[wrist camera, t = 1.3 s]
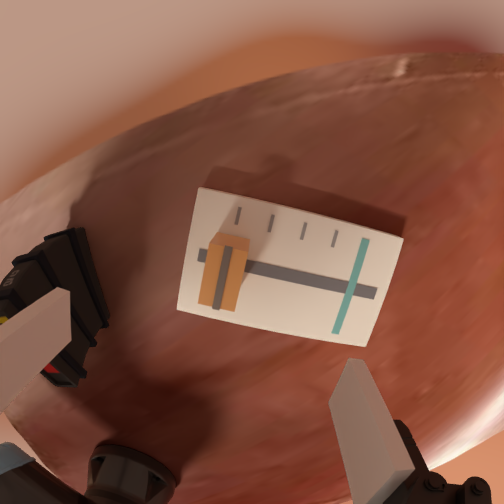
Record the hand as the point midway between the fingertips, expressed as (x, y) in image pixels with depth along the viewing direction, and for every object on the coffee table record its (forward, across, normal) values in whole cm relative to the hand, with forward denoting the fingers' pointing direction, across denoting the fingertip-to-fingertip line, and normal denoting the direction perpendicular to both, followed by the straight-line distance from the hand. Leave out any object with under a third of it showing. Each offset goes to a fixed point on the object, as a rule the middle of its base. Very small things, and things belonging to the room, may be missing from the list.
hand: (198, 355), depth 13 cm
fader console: (+18, -6, 0) cm, 19 cm away
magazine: (+18, +15, +7) cm, 25 cm away
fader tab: (+16, 0, 0) cm, 16 cm away
